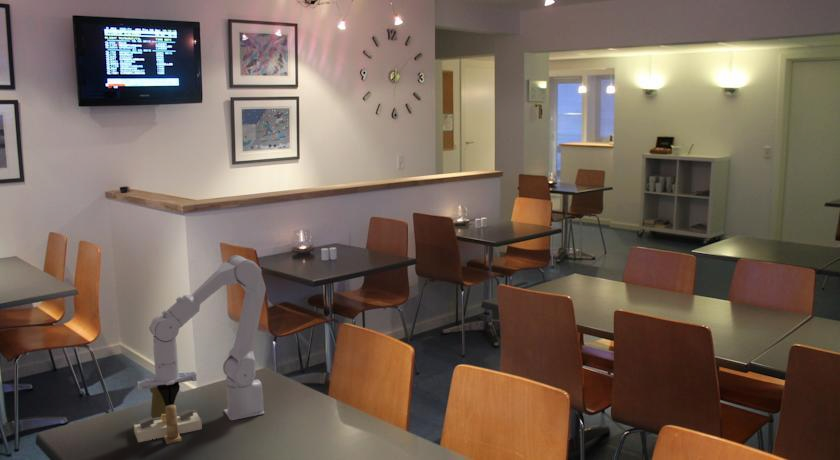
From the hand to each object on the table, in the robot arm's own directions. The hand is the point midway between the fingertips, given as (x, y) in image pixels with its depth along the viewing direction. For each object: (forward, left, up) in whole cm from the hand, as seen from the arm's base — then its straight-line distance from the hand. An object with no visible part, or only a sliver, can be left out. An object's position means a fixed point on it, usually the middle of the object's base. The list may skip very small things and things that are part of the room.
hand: (169, 410), depth 194 cm
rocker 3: (-4, 0, -3) cm, 5 cm away
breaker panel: (+1, 0, -5) cm, 5 cm away
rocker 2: (+1, 0, -3) cm, 3 cm away
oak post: (+1, +7, -5) cm, 8 cm away
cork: (+1, -9, -6) cm, 11 cm away
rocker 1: (+6, 0, -3) cm, 6 cm away
